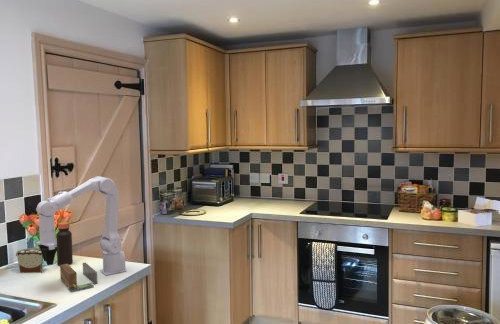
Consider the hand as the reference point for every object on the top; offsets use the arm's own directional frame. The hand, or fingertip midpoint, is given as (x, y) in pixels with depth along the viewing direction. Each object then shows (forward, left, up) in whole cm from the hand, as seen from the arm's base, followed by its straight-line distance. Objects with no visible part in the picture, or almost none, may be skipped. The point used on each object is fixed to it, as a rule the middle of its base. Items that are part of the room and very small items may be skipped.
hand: (48, 262), depth 175 cm
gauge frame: (-11, +2, -10) cm, 15 cm away
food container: (+1, -26, -11) cm, 28 cm away
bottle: (-13, -27, -11) cm, 32 cm away
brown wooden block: (-7, +2, -10) cm, 13 cm away
